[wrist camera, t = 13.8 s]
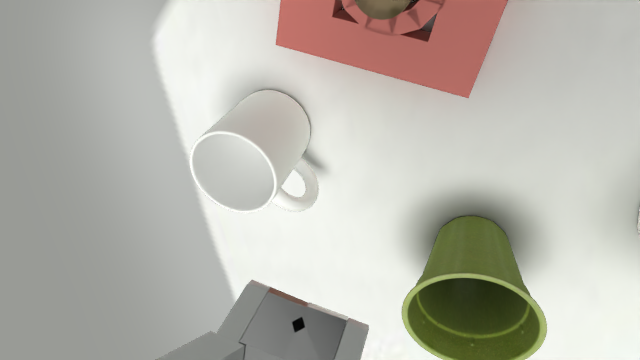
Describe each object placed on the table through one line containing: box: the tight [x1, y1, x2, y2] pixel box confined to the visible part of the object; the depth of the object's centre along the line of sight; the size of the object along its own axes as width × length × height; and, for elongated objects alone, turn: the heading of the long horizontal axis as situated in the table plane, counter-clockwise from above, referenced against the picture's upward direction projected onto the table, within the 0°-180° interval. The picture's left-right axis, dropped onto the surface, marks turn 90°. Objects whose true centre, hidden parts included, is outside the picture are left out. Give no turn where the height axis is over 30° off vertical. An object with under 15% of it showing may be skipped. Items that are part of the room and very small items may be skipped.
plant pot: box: [402, 216, 547, 360], centre depth 42 cm, size 12×12×11 cm
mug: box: [190, 90, 319, 213], centre depth 42 cm, size 12×8×10 cm
